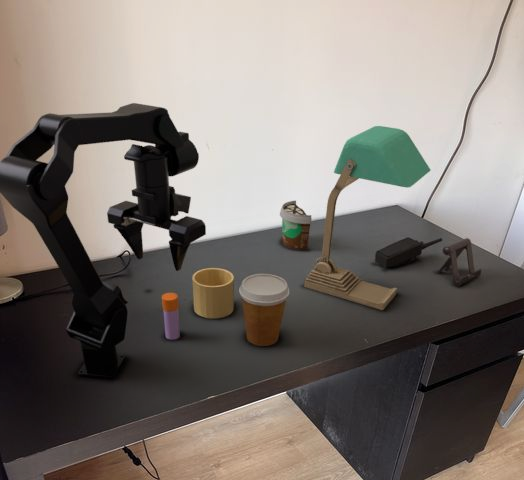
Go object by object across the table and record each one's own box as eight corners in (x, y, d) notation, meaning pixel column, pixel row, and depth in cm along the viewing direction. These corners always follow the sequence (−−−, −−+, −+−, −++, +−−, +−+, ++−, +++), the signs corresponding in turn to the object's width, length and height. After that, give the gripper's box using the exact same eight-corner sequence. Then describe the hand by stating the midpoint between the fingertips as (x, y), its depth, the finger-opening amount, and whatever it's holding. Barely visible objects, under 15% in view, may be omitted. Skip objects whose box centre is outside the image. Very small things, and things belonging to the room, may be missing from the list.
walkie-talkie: (369, 253, 135) (425, 232, 143) (379, 275, 135) (435, 252, 143) (382, 244, 129) (440, 222, 137) (392, 267, 129) (450, 244, 137)
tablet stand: (459, 287, 126) (468, 255, 121) (431, 275, 131) (439, 244, 126) (479, 277, 130) (489, 246, 126) (452, 266, 135) (460, 235, 130)
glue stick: (178, 340, 104) (175, 300, 98) (163, 339, 104) (159, 299, 99) (182, 332, 106) (179, 293, 101) (167, 331, 106) (164, 291, 101)
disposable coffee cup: (259, 319, 111) (261, 268, 104) (295, 336, 106) (300, 283, 99) (228, 338, 105) (228, 284, 98) (265, 357, 100) (268, 302, 93)
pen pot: (230, 320, 110) (230, 288, 106) (189, 316, 111) (188, 285, 107) (236, 300, 117) (236, 269, 113) (198, 296, 118) (197, 266, 114)
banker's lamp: (326, 267, 132) (343, 118, 112) (406, 290, 124) (440, 133, 104) (297, 292, 121) (309, 132, 101) (383, 319, 113) (415, 149, 92)
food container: (272, 236, 147) (273, 201, 142) (292, 234, 149) (295, 199, 143) (287, 254, 138) (289, 217, 132) (308, 252, 139) (312, 215, 134)
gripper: (222, 181, 95) (222, 261, 104) (141, 163, 102) (148, 239, 111) (185, 197, 87) (189, 282, 95) (100, 177, 94) (110, 258, 103)
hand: (159, 264), depth 101 cm, fingers open, 9 cm apart
